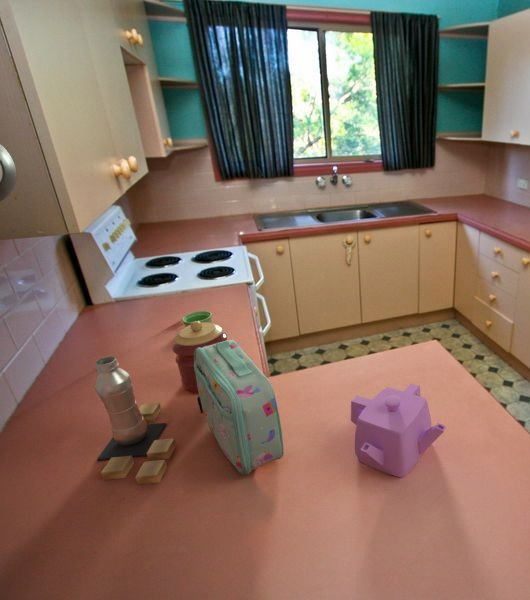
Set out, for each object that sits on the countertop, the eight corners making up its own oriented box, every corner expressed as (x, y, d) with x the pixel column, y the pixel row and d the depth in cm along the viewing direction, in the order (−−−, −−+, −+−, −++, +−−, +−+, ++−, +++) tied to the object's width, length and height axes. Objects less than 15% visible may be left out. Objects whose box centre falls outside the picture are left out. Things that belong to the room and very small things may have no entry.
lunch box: (199, 420, 99) (177, 339, 90) (242, 401, 105) (226, 324, 96) (243, 490, 80) (220, 395, 71) (293, 462, 86) (278, 372, 77)
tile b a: (103, 480, 83) (100, 472, 82) (114, 465, 87) (111, 457, 86) (125, 478, 83) (122, 470, 82) (134, 462, 87) (131, 455, 86)
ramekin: (219, 327, 143) (216, 315, 141) (192, 337, 137) (189, 325, 135) (206, 319, 148) (204, 308, 147) (180, 329, 142) (177, 317, 140)
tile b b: (149, 461, 87) (146, 453, 86) (156, 447, 91) (154, 440, 90) (169, 459, 88) (166, 451, 87) (176, 445, 91) (174, 438, 90)
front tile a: (137, 484, 82) (134, 477, 81) (146, 469, 85) (144, 461, 84) (159, 482, 82) (156, 474, 81) (167, 467, 86) (165, 459, 85)
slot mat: (97, 461, 88) (96, 459, 88) (121, 428, 97) (120, 426, 97) (148, 456, 89) (147, 454, 88) (166, 424, 98) (166, 422, 98)
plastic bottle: (145, 424, 97) (119, 348, 89) (154, 439, 93) (128, 360, 85) (112, 439, 93) (82, 360, 85) (121, 454, 88) (90, 373, 80)
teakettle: (418, 414, 98) (417, 369, 93) (448, 467, 83) (450, 416, 78) (346, 432, 94) (341, 385, 89) (364, 491, 79) (360, 439, 74)
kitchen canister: (171, 391, 110) (153, 330, 102) (205, 364, 121) (191, 308, 114) (214, 398, 106) (199, 336, 99) (245, 370, 118) (233, 313, 111)
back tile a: (136, 421, 99) (134, 414, 98) (144, 411, 102) (142, 404, 102) (154, 420, 99) (152, 413, 98) (161, 409, 103) (159, 402, 102)
